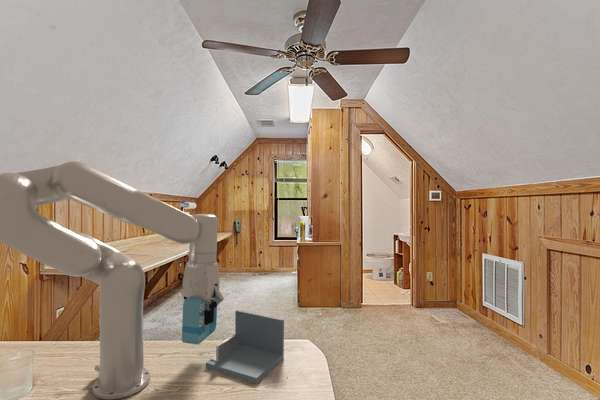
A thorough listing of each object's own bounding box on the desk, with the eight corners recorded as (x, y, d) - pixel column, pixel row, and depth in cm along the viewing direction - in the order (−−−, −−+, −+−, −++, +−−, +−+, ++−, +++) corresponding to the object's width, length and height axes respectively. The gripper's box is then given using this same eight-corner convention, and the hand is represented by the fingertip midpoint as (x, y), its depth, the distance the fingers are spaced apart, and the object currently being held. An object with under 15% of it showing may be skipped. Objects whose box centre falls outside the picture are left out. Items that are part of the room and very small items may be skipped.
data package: (196, 346, 89) (198, 301, 89) (181, 344, 90) (182, 300, 90) (216, 329, 101) (217, 290, 101) (202, 328, 102) (204, 288, 102)
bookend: (210, 360, 93) (210, 343, 93) (232, 345, 102) (232, 330, 102) (218, 362, 92) (218, 346, 92) (240, 347, 101) (240, 332, 101)
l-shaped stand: (205, 368, 92) (205, 326, 91) (236, 346, 104) (237, 309, 104) (256, 383, 84) (256, 338, 84) (283, 358, 97) (283, 319, 97)
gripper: (170, 256, 96) (167, 319, 96) (218, 263, 88) (215, 332, 89) (189, 252, 103) (187, 311, 103) (235, 259, 95) (232, 323, 95)
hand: (200, 320), depth 96 cm, fingers closed on data package, 5 cm apart
